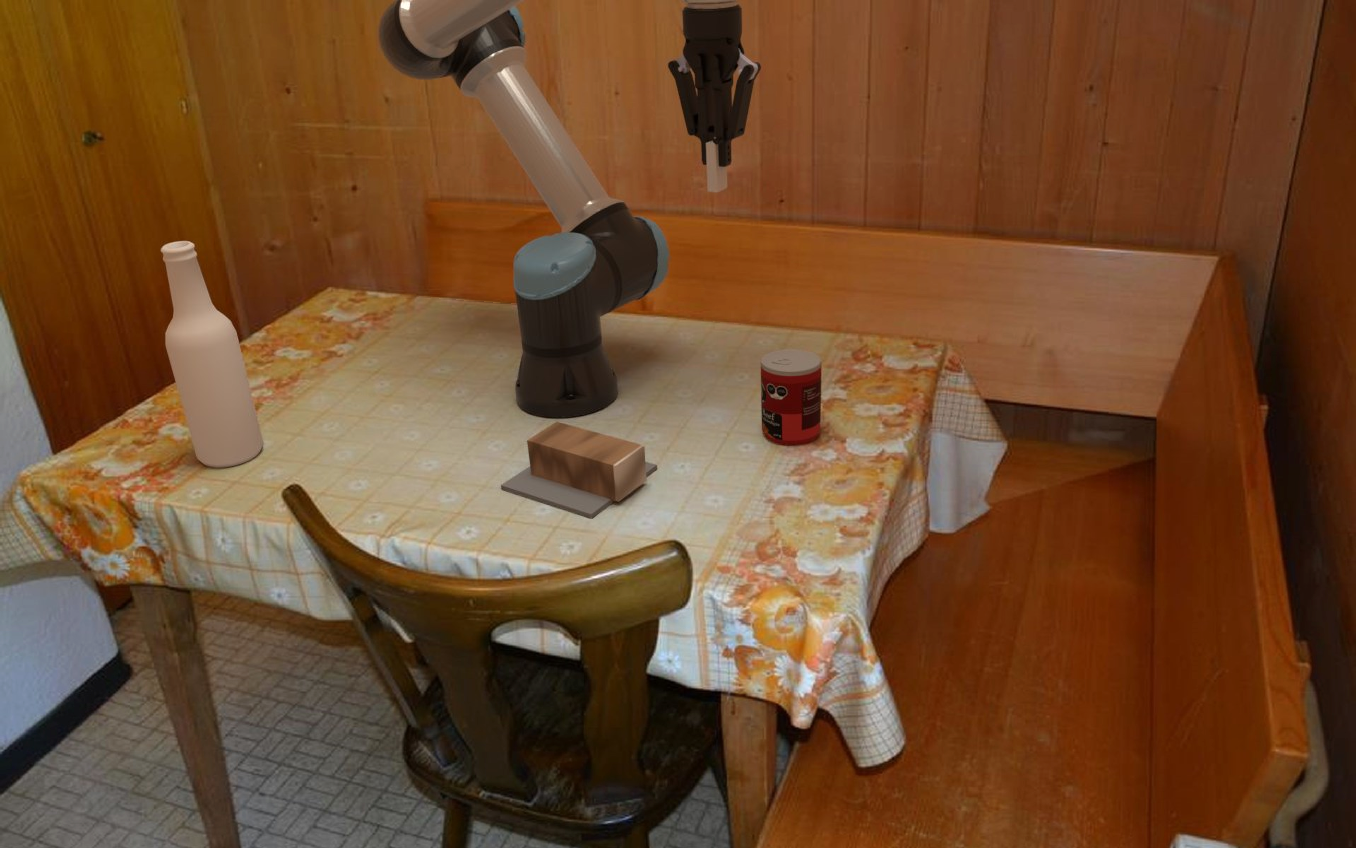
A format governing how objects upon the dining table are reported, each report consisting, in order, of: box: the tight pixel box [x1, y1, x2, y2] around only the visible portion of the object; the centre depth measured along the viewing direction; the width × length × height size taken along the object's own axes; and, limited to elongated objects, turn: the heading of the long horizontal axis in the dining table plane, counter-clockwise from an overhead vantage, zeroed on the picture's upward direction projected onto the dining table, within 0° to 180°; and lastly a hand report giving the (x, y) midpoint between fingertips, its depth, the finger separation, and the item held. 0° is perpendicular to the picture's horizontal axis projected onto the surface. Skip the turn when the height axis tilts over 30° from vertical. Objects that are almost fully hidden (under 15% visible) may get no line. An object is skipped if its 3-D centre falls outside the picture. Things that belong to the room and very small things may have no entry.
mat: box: [500, 461, 658, 519], centre depth 141 cm, size 14×14×1 cm
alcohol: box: [160, 240, 264, 469], centre depth 145 cm, size 9×9×30 cm
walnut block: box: [526, 421, 648, 502], centre depth 139 cm, size 5×6×14 cm
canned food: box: [760, 348, 822, 447], centre depth 147 cm, size 8×8×11 cm
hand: (717, 189), depth 149 cm, fingers closed
